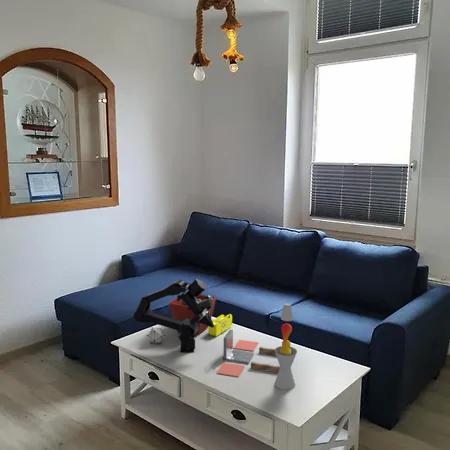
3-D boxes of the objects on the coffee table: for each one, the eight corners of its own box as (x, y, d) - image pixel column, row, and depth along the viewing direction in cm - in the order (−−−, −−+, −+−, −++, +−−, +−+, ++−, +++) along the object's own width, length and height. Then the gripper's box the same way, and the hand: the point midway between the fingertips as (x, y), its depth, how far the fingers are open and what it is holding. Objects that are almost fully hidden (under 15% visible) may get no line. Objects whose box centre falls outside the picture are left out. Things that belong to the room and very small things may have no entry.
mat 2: (233, 348, 227) (233, 347, 227) (239, 340, 237) (239, 339, 237) (253, 351, 224) (253, 350, 224) (258, 343, 234) (258, 342, 234)
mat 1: (216, 373, 203) (216, 372, 203) (223, 363, 212) (223, 362, 212) (238, 377, 200) (238, 376, 200) (244, 366, 209) (244, 365, 209)
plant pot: (216, 326, 254) (216, 297, 251) (200, 339, 237) (200, 308, 234) (185, 320, 262) (185, 292, 259) (168, 333, 245) (167, 302, 242)
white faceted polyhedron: (159, 348, 235) (170, 331, 236) (155, 349, 227) (167, 332, 228) (145, 338, 237) (156, 321, 238) (140, 339, 229) (152, 322, 230)
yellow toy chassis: (217, 337, 240) (217, 322, 239) (207, 335, 243) (207, 320, 242) (232, 327, 254) (232, 312, 252) (223, 325, 256) (224, 310, 255)
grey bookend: (223, 360, 215) (223, 337, 213) (229, 351, 225) (229, 329, 223) (248, 364, 212) (248, 341, 210) (253, 354, 221) (254, 332, 219)
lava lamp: (295, 390, 189) (298, 309, 183) (273, 388, 191) (275, 307, 184) (295, 379, 198) (298, 301, 192) (274, 377, 199) (276, 300, 193)
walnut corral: (250, 368, 208) (250, 363, 207) (259, 351, 224) (259, 346, 224) (283, 373, 203) (283, 368, 203) (290, 356, 220) (290, 351, 219)
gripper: (195, 298, 209) (218, 324, 208) (209, 286, 227) (231, 310, 226) (179, 312, 213) (202, 338, 212) (194, 299, 231) (215, 323, 229)
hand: (213, 327), depth 220 cm, fingers closed
